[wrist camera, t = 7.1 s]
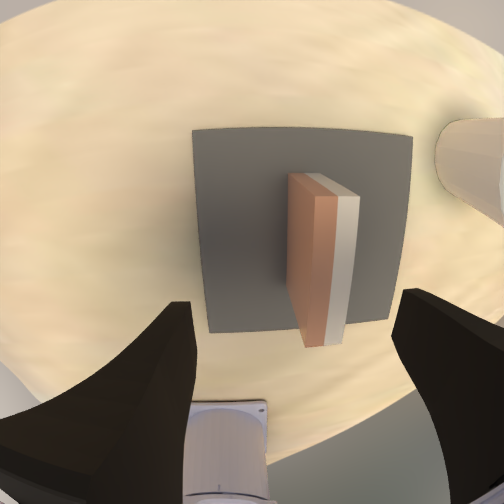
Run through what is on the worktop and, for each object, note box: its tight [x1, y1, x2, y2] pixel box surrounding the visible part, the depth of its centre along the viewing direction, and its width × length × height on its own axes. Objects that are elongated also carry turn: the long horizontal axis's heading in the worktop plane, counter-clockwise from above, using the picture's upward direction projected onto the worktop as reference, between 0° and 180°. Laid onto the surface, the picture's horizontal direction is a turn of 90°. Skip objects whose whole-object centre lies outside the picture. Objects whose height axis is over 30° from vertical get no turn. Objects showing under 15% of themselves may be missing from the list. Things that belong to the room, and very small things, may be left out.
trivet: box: [192, 127, 413, 333], centre depth 18 cm, size 13×13×1 cm
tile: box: [286, 173, 360, 348], centre depth 15 cm, size 7×2×6 cm, turn 1°
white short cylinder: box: [435, 118, 504, 227], centre depth 14 cm, size 7×7×7 cm
